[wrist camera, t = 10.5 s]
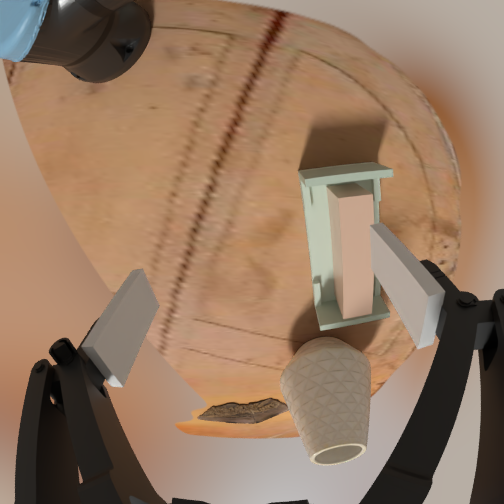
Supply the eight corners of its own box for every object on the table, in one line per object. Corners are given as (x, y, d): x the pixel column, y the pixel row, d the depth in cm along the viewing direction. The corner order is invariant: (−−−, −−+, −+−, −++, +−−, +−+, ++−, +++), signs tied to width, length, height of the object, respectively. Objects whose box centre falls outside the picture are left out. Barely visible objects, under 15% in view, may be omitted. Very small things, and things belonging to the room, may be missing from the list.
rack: (297, 170, 38) (304, 179, 32) (372, 161, 37) (392, 169, 31) (314, 304, 48) (320, 330, 41) (375, 293, 46) (389, 317, 40)
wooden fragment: (286, 394, 59) (286, 398, 58) (294, 416, 64) (294, 419, 63) (187, 404, 63) (186, 407, 62) (203, 424, 68) (203, 427, 67)
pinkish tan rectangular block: (326, 186, 38) (338, 198, 32) (355, 182, 38) (372, 194, 31) (334, 293, 45) (343, 319, 39) (359, 289, 45) (371, 313, 38)
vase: (374, 357, 53) (404, 446, 32) (306, 391, 58) (315, 479, 37) (339, 307, 48) (373, 414, 27) (261, 351, 53) (257, 455, 32)
